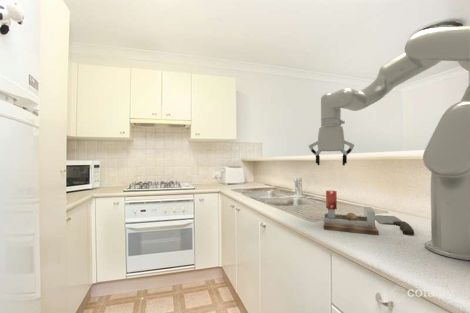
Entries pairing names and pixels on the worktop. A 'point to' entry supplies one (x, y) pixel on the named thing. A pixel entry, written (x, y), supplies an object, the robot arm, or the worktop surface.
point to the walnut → (351, 216)
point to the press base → (352, 229)
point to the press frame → (361, 221)
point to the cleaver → (395, 223)
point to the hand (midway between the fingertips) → (330, 165)
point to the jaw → (331, 203)
